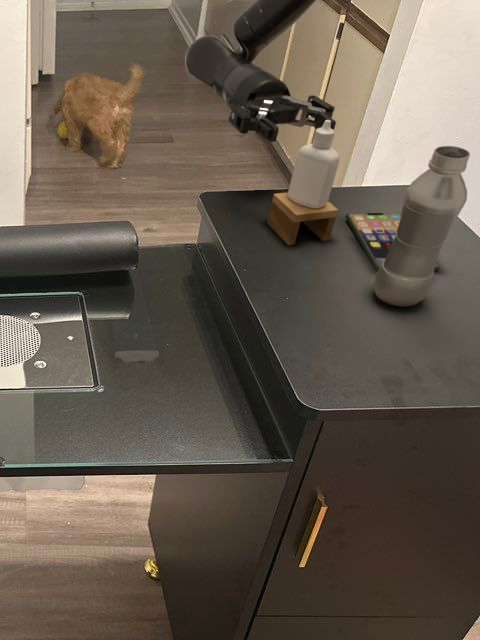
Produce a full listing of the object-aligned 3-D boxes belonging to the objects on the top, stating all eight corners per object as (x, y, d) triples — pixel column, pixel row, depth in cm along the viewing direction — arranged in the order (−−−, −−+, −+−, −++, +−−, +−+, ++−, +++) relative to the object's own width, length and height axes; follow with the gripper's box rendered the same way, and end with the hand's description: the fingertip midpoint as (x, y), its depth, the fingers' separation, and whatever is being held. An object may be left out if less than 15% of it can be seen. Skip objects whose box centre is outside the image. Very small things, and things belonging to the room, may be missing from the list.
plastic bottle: (359, 299, 96) (409, 154, 83) (383, 279, 99) (435, 136, 86) (409, 319, 92) (470, 169, 79) (433, 297, 95) (494, 150, 82)
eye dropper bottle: (300, 211, 105) (322, 130, 97) (283, 194, 109) (303, 115, 101) (330, 208, 105) (353, 126, 97) (311, 191, 109) (333, 112, 101)
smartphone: (376, 271, 101) (379, 263, 100) (344, 219, 112) (346, 212, 111) (438, 271, 100) (441, 263, 99) (399, 219, 111) (402, 212, 110)
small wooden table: (306, 218, 113) (314, 188, 110) (329, 240, 108) (338, 209, 104) (266, 223, 113) (273, 193, 109) (288, 245, 107) (296, 214, 104)
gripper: (215, 75, 114) (262, 111, 102) (301, 66, 115) (357, 101, 103) (208, 122, 119) (251, 162, 107) (290, 113, 120) (342, 152, 108)
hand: (303, 132), depth 105 cm, fingers open, 8 cm apart
